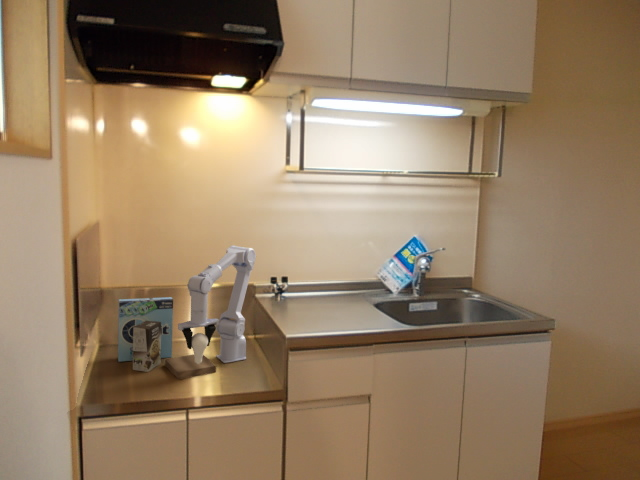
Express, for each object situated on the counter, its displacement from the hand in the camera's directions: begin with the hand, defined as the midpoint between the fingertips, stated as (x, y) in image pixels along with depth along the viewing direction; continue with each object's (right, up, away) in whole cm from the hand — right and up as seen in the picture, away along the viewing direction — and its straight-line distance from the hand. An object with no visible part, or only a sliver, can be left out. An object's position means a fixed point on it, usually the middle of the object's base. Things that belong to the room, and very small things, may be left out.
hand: (198, 346), depth 179 cm
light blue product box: (-24, -7, +14) cm, 29 cm away
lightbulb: (0, -6, -1) cm, 6 cm away
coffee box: (-20, -9, +6) cm, 23 cm away
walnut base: (-4, -9, +6) cm, 12 cm away
